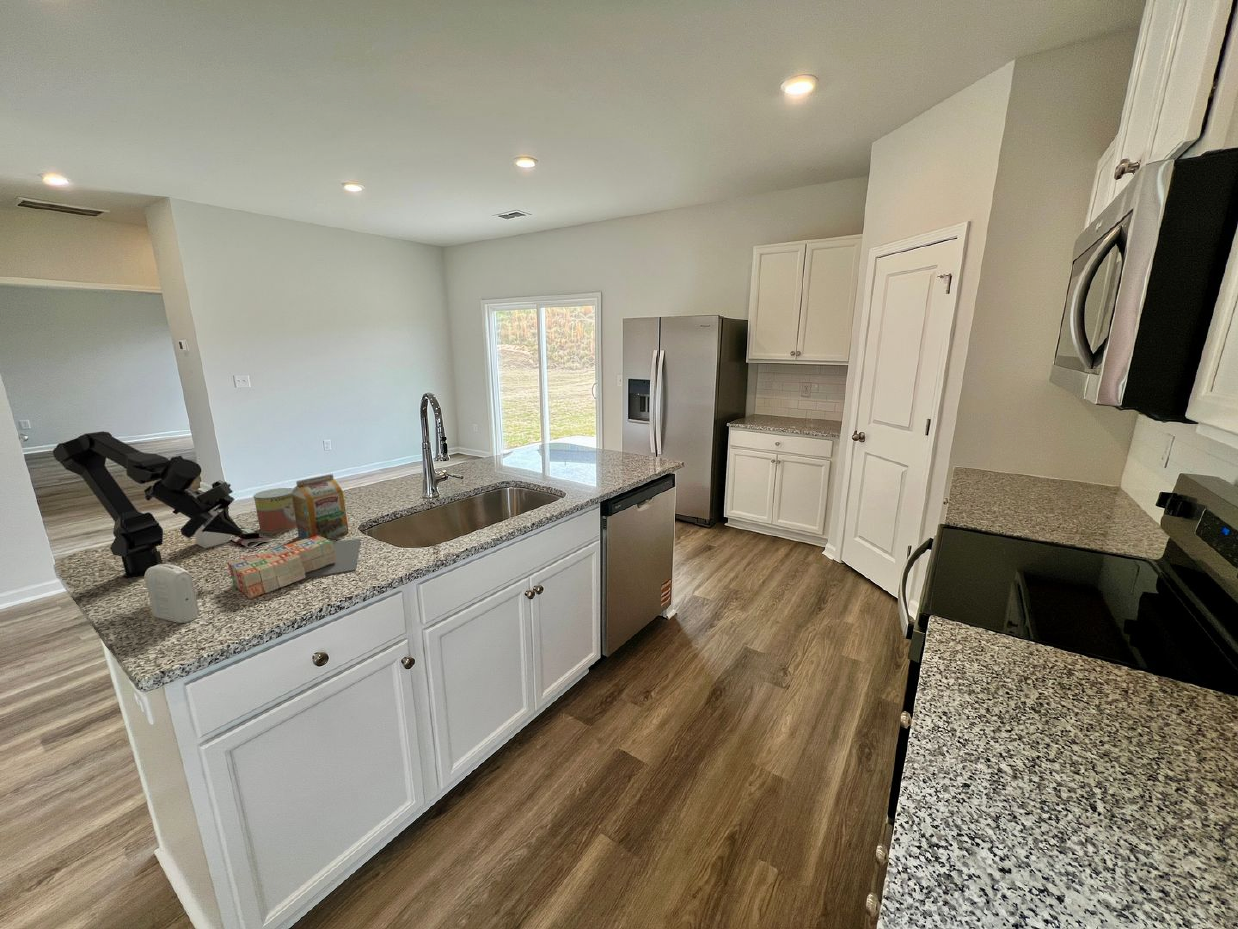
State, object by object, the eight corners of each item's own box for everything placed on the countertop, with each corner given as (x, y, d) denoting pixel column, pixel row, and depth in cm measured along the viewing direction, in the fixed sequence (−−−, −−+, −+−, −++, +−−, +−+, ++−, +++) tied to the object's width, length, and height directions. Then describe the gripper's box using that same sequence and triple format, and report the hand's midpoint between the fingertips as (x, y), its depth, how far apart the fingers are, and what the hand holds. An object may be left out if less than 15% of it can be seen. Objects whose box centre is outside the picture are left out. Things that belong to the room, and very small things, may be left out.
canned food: (285, 533, 159) (279, 497, 156) (251, 533, 159) (244, 498, 156) (307, 521, 169) (302, 487, 167) (275, 521, 170) (269, 488, 167)
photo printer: (204, 615, 110) (192, 564, 107) (182, 625, 106) (170, 573, 103) (172, 608, 113) (160, 558, 110) (150, 618, 109) (137, 566, 106)
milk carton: (333, 526, 164) (324, 471, 160) (348, 533, 158) (340, 476, 154) (298, 536, 156) (288, 478, 152) (313, 543, 150) (303, 483, 146)
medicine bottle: (233, 541, 153) (225, 504, 150) (205, 548, 147) (196, 510, 144) (223, 536, 156) (216, 500, 153) (195, 543, 150) (187, 506, 148)
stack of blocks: (318, 534, 139) (338, 543, 132) (322, 554, 140) (342, 564, 133) (226, 562, 122) (243, 575, 115) (232, 585, 124) (249, 599, 117)
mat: (285, 582, 125) (285, 581, 125) (300, 548, 146) (300, 547, 146) (356, 570, 132) (355, 569, 132) (360, 539, 153) (360, 538, 153)
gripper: (186, 483, 115) (250, 522, 122) (219, 466, 133) (273, 500, 139) (152, 519, 115) (218, 556, 121) (189, 497, 132) (245, 530, 138)
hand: (241, 533), depth 130 cm, fingers closed
